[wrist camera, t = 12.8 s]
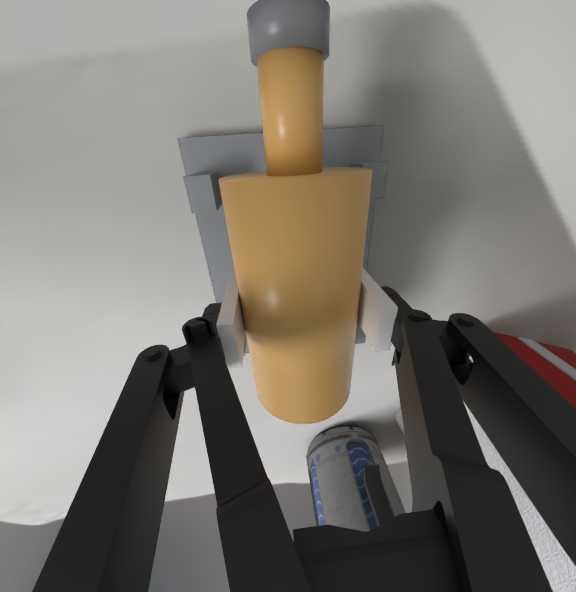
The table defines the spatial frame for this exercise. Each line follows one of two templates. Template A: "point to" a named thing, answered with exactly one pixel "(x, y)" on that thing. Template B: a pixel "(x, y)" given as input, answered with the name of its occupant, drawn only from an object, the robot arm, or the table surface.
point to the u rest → (251, 158)
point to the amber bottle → (297, 225)
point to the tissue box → (556, 563)
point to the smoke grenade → (351, 480)
